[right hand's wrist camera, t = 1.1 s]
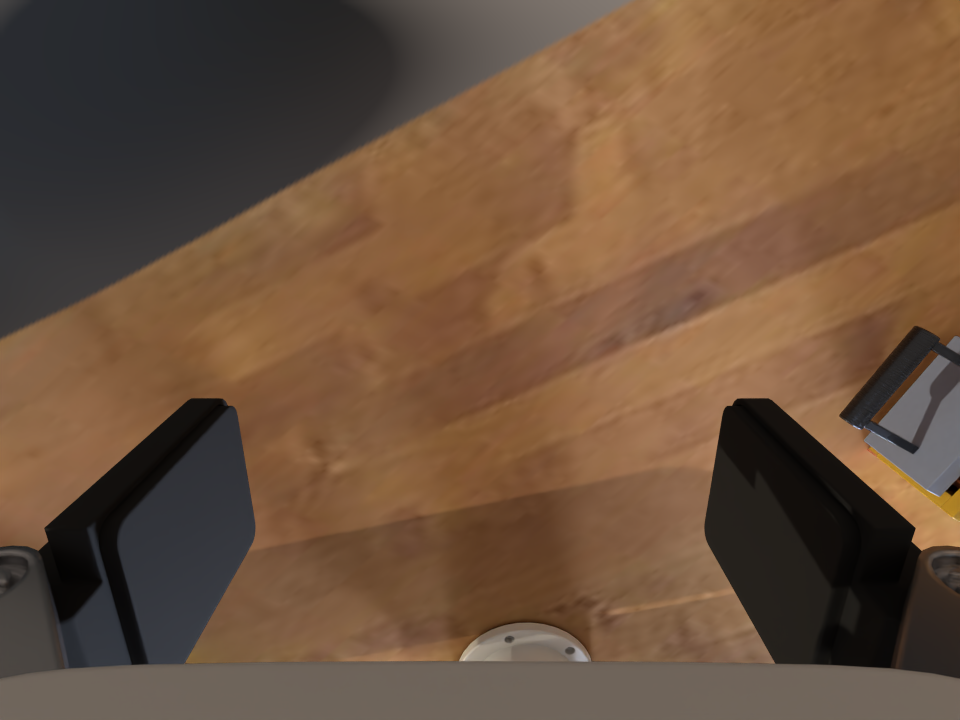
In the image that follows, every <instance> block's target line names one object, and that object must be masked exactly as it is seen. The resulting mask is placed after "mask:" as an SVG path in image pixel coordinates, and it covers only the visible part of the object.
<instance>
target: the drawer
mask: <svg viewBox="0 0 960 720" xmlns="http://www.w3.org/2000/svg"><path fill="white" fill-rule="evenodd" d="M939 340H940V338H939V337H938V336H936V335H934V334H932V333H931V332H929V331H927V330H925V329H923V328H921V327H918V326H914V327H913V328H912V329H911V331H910V332H909V333H908V334H907V335H906V336H905V338H904V339H903V340H902V341H901V342H900V344H899V345H898V346H897V347H896V348H895V350H894V351H893V352H892V353H891V354H890V355H889V357H888V358H887V359H886V360H885V361H884V363H883V364H882V365H881V366H880V367H879V368H878V370H877V371H876V372H875V373H874V374H873V376H872V377H871V378H870V379H869V380H868V382H867V383H866V384H865V385H864V386H863V387H862V389H861V390H860V391H859V392H858V393H857V395H856V396H855V397H854V398H853V399H852V400H851V402H850V403H849V404H848V405H847V406H846V408H845V409H844V410H843V411H842V412H841V414H840V415H839V416H840V417H841V418H842V419H843V420H845V421H846V422H848V423H849V424H851V425H852V426H854V427H856V428H858V429H860V430H862V429H863V428H866V429H867V430H869V431H871V432H870V434H869V435H868V436H867V437H866V438H865V439H864V441H865V442H866V443H867V444H869V445H870V446H871V447H872V448H874V449H875V450H876V451H877V452H879V453H880V454H881V455H882V456H884V457H885V458H886V459H888V460H889V461H890V462H891V463H893V464H894V465H895V466H896V467H898V468H899V469H900V470H901V471H903V472H904V473H905V474H907V475H908V476H909V477H910V478H912V479H913V480H914V481H915V482H917V483H918V484H919V485H920V486H922V487H923V488H924V489H926V490H927V491H929V492H931V493H933V494H935V495H936V496H938V497H940V496H941V495H942V494H943V493H944V492H945V491H946V490H947V489H948V488H949V487H950V486H951V485H952V484H953V485H954V486H955V487H957V488H958V489H960V337H958V336H955V337H954V338H953V339H952V340H951V341H950V342H949V343H948V345H947V346H944V345H943V344H941V343H939ZM931 350H932V351H933V352H935V353H937V354H939V355H938V356H937V357H936V358H935V359H934V360H933V362H932V363H931V364H930V365H929V366H928V367H927V368H926V370H925V371H924V372H923V373H922V374H921V375H920V376H919V378H918V379H917V380H916V381H915V382H914V383H913V384H912V386H911V387H910V388H909V389H908V390H907V391H906V392H905V394H904V395H903V396H902V397H901V398H900V399H899V400H898V402H897V403H896V404H895V405H894V406H893V407H892V408H891V410H890V411H889V412H888V413H887V414H886V415H885V416H884V418H883V419H882V420H881V421H880V422H879V423H878V424H877V423H875V422H873V421H871V419H872V418H873V416H874V415H875V414H876V413H877V412H878V411H879V410H880V408H881V407H882V406H883V405H884V404H885V403H886V402H887V400H888V399H889V398H890V397H891V396H892V395H893V393H894V392H895V391H896V390H897V389H898V388H899V387H900V385H901V384H902V383H903V382H904V381H905V380H906V378H907V377H908V376H909V375H910V374H911V373H912V372H913V370H914V369H915V368H916V367H917V366H918V365H919V364H920V362H921V361H922V360H923V359H924V358H925V357H926V355H927V354H928V353H929V352H930V351H931Z"/></svg>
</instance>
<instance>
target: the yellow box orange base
mask: <svg viewBox="0 0 960 720" xmlns="http://www.w3.org/2000/svg"><path fill="white" fill-rule="evenodd" d="M867 450H868V451H870V452H871V453H872V454H873V455H875V456H876V457H877V458H879V459H880V460H881V461H882V462H884V463H885V464H886V465H887V466H889V467H890V468H891V469H892V470H894V471H895V472H896V473H897V474H899V475H900V476H901V477H902V478H904V479H905V480H906V481H907V482H909V483H910V484H911V485H912V486H914V487H915V488H916V489H917V490H918V491H920V492H921V493H922V494H923V495H925V496H926V497H927V498H928V499H930V500H931V501H932V502H933V503H935V504H936V505H937V506H938V507H940V508H941V509H942V510H943V511H945V512H946V513H947V514H948V515H950V516H951V517H952V518H954V519H956V520H958V521H959V522H960V489H958V488H957V487H955V486H954V485H953V484H952V485H951V486H950V487H949V488H948V489H947V490H946V491H945V492H944V493H943V494H942V495H941V496H940V497H938V496H936V495H935V494H933V493H931V492H929V491H927V490H926V489H924V488H923V487H922V486H920V485H919V484H918V483H917V482H915V481H914V480H913V479H912V478H910V477H909V476H908V475H907V474H905V473H904V472H903V471H901V470H900V469H899V468H898V467H896V466H895V465H894V464H893V463H891V462H890V461H889V460H888V459H886V458H885V457H884V456H882V455H881V454H880V453H879V452H877V451H876V450H875V449H874V448H872V447H870V448H869V449H867Z"/></svg>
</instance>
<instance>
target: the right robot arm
mask: <svg viewBox="0 0 960 720" xmlns="http://www.w3.org/2000/svg"><path fill="white" fill-rule="evenodd" d="M44 529H45V532H46V535H47V538H48V541H49V542H48V543H47V544H45V545H44V546H43V547H42V548H41V549H40V550H39V551H37V550H35V549H32V548H30V547H27V546H6V547H0V720H960V547H954V546H933V547H930V548H928V549H925V550H923V551H921V550H920V549H919V548H918V547H917V546H916V545H915V544H913V543H912V542H911V541H912V538H913V535H914V532H915V529H916V528H915V527H914V526H913V525H912V524H910V523H909V522H908V521H907V520H906V519H905V518H904V517H903V516H901V515H900V514H899V513H898V512H897V511H896V510H895V509H894V508H892V507H891V506H890V505H889V504H888V503H887V502H886V501H885V500H883V499H882V498H881V497H880V496H879V495H878V494H877V493H876V492H874V491H873V490H872V489H871V488H870V487H869V486H868V485H867V484H865V483H864V482H863V481H862V480H861V479H860V478H859V477H858V476H856V475H855V474H854V473H853V472H852V471H851V470H850V469H849V468H847V467H846V466H845V465H844V464H843V463H842V462H841V461H840V460H838V459H837V458H836V457H835V456H834V455H833V454H832V453H831V452H829V451H828V450H827V449H826V448H825V447H824V446H823V445H822V444H820V443H819V442H818V441H817V440H816V439H815V438H814V437H813V436H811V435H810V434H809V433H808V432H807V431H806V430H805V429H804V428H802V427H801V426H800V425H799V424H798V423H797V422H796V421H795V420H793V419H792V418H791V417H790V416H789V415H788V414H787V413H786V412H784V411H783V410H782V409H781V408H780V407H779V406H778V405H777V404H775V403H774V402H773V401H772V400H770V399H769V398H740V399H737V400H735V401H734V403H733V405H732V406H727V407H726V408H725V409H724V411H723V416H722V422H721V428H720V434H719V440H718V446H717V452H716V458H715V464H714V470H713V476H712V482H711V488H710V495H709V501H708V507H707V513H706V519H705V536H706V540H707V543H708V545H709V547H710V548H711V550H712V552H713V554H714V556H715V557H716V559H717V561H718V563H719V564H720V566H721V568H722V570H723V571H724V573H725V575H726V577H727V579H728V580H729V582H730V584H731V586H732V587H733V589H734V591H735V593H736V594H737V596H738V598H739V600H740V602H741V603H742V605H743V607H744V609H745V610H746V612H747V614H748V616H749V617H750V619H751V621H752V623H753V625H754V626H755V628H756V630H757V632H758V633H759V635H760V637H761V639H762V640H763V642H764V644H765V646H766V648H767V649H768V651H769V653H770V655H771V656H772V658H773V660H774V662H775V663H776V664H757V663H705V662H592V661H591V658H590V655H589V654H588V652H587V650H586V649H585V647H584V646H583V645H582V644H581V643H580V642H579V641H578V640H577V639H576V638H575V637H573V636H572V635H570V634H569V633H567V632H565V631H563V630H561V629H558V628H556V627H553V626H549V625H545V624H539V623H514V624H509V625H503V626H501V627H498V628H495V629H492V630H490V631H488V632H486V633H484V634H482V635H481V636H479V637H478V638H477V639H475V640H474V641H473V642H472V643H471V644H470V645H469V646H468V647H467V648H466V649H465V651H464V652H463V654H462V656H461V658H460V660H459V661H381V662H255V663H203V664H184V663H185V662H186V660H187V658H188V656H189V655H190V653H191V651H192V649H193V648H194V646H195V644H196V642H197V640H198V639H199V637H200V635H201V633H202V632H203V630H204V628H205V626H206V625H207V623H208V621H209V619H210V617H211V616H212V614H213V612H214V610H215V609H216V607H217V605H218V603H219V602H220V600H221V598H222V596H223V594H224V593H225V591H226V589H227V587H228V586H229V584H230V582H231V580H232V579H233V577H234V575H235V573H236V571H237V570H238V568H239V566H240V564H241V563H242V561H243V559H244V557H245V556H246V554H247V552H248V550H249V548H250V547H251V545H252V543H253V540H254V536H255V519H254V513H253V507H252V501H251V495H250V488H249V482H248V476H247V470H246V464H245V458H244V452H243V446H242V440H241V434H240V428H239V422H238V416H237V411H236V409H235V408H234V407H233V406H228V405H227V403H226V401H225V400H223V399H220V398H191V399H190V400H188V401H187V402H186V403H185V404H183V405H182V406H181V407H180V408H179V409H178V410H177V411H176V412H174V413H173V414H172V415H171V416H170V417H169V418H168V419H167V420H165V421H164V422H163V423H162V424H161V425H160V426H159V427H158V428H156V429H155V430H154V431H153V432H152V433H151V434H150V435H149V436H147V437H146V438H145V439H144V440H143V441H142V442H141V443H140V444H138V445H137V446H136V447H135V448H134V449H133V450H132V451H131V452H129V453H128V454H127V455H126V456H125V457H124V458H123V459H122V460H120V461H119V462H118V463H117V464H116V465H115V466H114V467H113V468H111V469H110V470H109V471H108V472H107V473H106V474H105V475H104V476H102V477H101V478H100V479H99V480H98V481H97V482H96V483H95V484H93V485H92V486H91V487H90V488H89V489H88V490H87V491H86V492H84V493H83V494H82V495H81V496H80V497H79V498H78V499H77V500H75V501H74V502H73V503H72V504H71V505H70V506H69V507H68V508H66V509H65V510H64V511H63V512H62V513H61V514H60V515H59V516H57V517H56V518H55V519H54V520H53V521H52V522H51V523H50V524H48V525H47V526H46V527H45V528H44Z"/></svg>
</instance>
